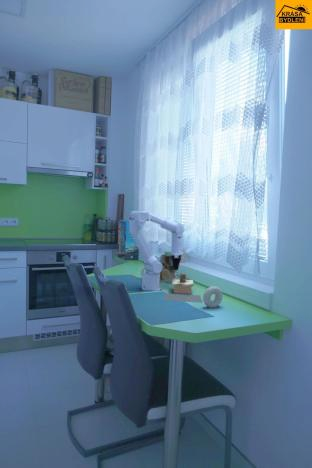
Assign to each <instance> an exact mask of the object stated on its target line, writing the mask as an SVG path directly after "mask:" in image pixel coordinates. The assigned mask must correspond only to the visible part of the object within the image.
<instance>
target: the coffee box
mask: <svg viewBox="0 0 312 468" xmlns="http://www.w3.org/2000/svg"><path fill="white" fill-rule="evenodd" d="M171 255H172V254H161V255H160V257H159V259H160V261H159V262H160V263H161V264H162V271H161V272H160V279H159V283H169V284H172V279H177V275H178V274H177V273H178V270H174V267H173V261H172V259H171V257H172V256H171Z"/></svg>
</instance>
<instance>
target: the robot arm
mask: <svg viewBox="0 0 312 468" xmlns="http://www.w3.org/2000/svg"><path fill="white" fill-rule="evenodd" d="M127 220H128V222H129V223H128V224H129V233H130V234H131V237H132V238H133V240H134V243H135V244H136V247H137V249H138V250H139V253H140V254H141V257H142V258H143V265H144V266H143V267H145V269H144V270H145V272H146V273H145V272H144V273H143V276H142V275H141V277H142V278H141V280H142V281H141V291H160V290H161V287H160V272H161V271H162V264H161V263H160V261H159V260H158V258H156V256H155V255H154V254H153V253H152V250H151V248H150V246H149V243H148V242H147V241H146V238H145V237H144V234H143V232H142V229H143V226H144V225H145V224H146V223H147V222H152V223H155V224H157V225H160V228H162V229H164V230H166V231H167V232H170V233H171V246H170V247H171V251H170V255H171V256H172V257H171V259H172V261H173V267H174V270H177V271H179V267H180V263H181V260H182V258H181V257H182V255H184V252H183V251H182V248H183V247H182V245H183V234H184V231H185V228H184V225H183V224H182V223H178V222H177V221H175V220H174V221H173V220H171V219H170V218H169V217H166V218H165V217H164V218H160V217H158V216H157V215H155V214H152V213H150V212H148V211H145V210H132V211H130V213H129V215H128V217H127Z"/></svg>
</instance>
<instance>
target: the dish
mask: <svg viewBox="0 0 312 468" xmlns="http://www.w3.org/2000/svg"><path fill="white" fill-rule="evenodd" d="M192 287H193V286H180V285H173V294H181V295H192Z"/></svg>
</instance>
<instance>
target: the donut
mask: <svg viewBox="0 0 312 468" xmlns="http://www.w3.org/2000/svg"><path fill="white" fill-rule="evenodd" d="M212 295H214V298H213V300H212ZM223 297H224V296H223V291H222V290H221V289H220V288H219V287H218V286H216V285H215V286H212V285H211V286H209V287H207V289H206V290H205V291H204V293H203V296H202V302H203V304H204V305H205V306H206V307H207V308H208V309H209V308H210V309H214V308H217V307H219V306H220V304H221V303H222V301H223Z"/></svg>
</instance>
